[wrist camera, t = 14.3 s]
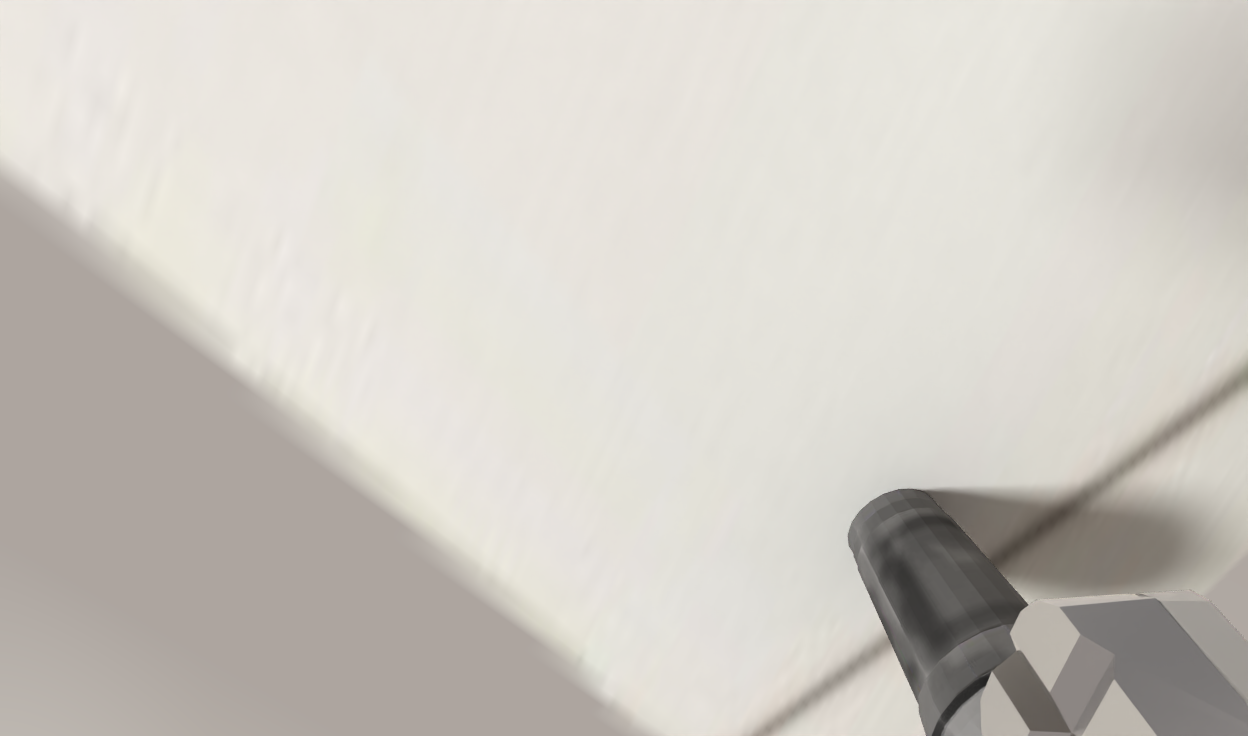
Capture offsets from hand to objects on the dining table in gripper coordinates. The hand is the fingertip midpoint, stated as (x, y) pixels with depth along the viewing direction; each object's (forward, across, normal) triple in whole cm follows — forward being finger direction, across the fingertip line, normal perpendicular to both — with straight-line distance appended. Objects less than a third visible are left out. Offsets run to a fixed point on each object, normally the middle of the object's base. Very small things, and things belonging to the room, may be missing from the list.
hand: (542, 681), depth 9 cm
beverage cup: (+31, -26, +26) cm, 48 cm away
